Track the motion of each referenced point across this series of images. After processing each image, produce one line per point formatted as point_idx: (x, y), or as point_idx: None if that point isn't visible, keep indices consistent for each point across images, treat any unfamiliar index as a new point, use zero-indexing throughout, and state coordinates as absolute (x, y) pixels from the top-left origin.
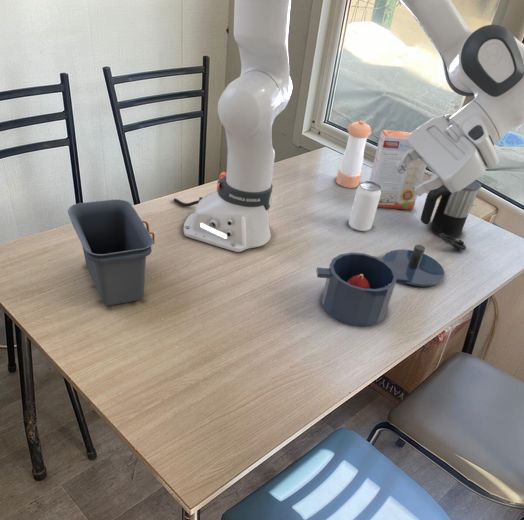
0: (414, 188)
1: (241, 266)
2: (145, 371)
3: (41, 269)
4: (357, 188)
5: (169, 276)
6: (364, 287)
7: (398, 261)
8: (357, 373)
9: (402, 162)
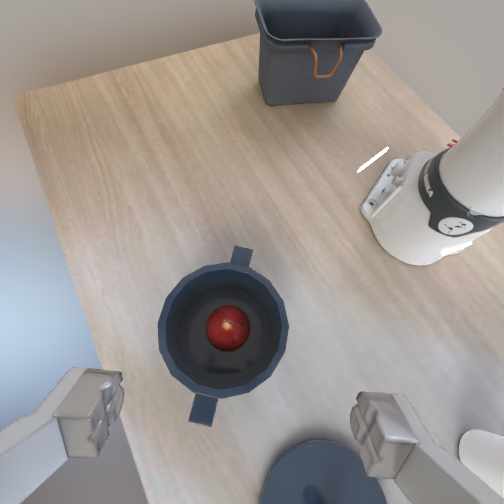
0: (93, 369)
1: (328, 206)
2: (166, 94)
3: None
4: None
5: (307, 133)
6: (210, 329)
7: (342, 487)
8: (90, 278)
9: (397, 432)
